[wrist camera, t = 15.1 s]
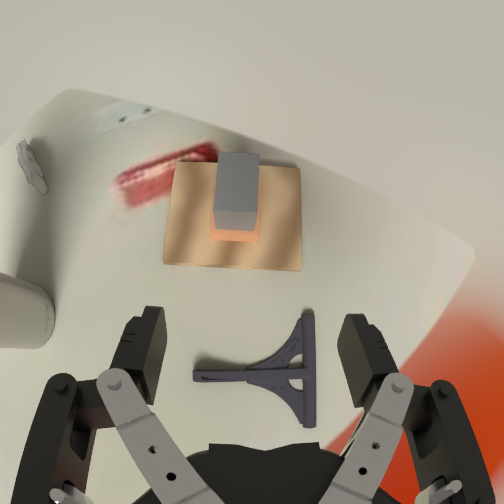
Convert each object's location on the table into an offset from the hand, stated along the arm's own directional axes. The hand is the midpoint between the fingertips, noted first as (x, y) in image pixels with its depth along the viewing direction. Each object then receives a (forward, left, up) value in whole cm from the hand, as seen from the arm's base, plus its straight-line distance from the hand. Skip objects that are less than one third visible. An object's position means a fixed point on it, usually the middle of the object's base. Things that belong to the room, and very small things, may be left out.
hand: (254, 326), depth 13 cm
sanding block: (-1, +15, -23) cm, 27 cm away
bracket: (+2, -5, -25) cm, 26 cm away
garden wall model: (-35, +23, -25) cm, 49 cm away
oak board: (-1, +15, -24) cm, 29 cm away
